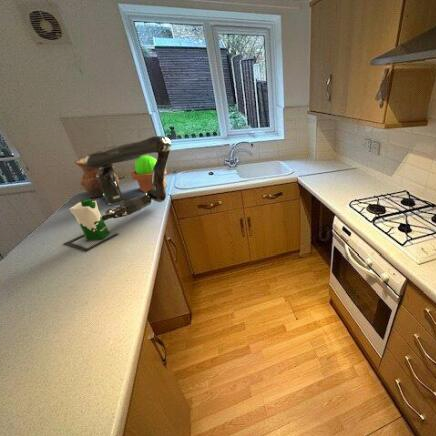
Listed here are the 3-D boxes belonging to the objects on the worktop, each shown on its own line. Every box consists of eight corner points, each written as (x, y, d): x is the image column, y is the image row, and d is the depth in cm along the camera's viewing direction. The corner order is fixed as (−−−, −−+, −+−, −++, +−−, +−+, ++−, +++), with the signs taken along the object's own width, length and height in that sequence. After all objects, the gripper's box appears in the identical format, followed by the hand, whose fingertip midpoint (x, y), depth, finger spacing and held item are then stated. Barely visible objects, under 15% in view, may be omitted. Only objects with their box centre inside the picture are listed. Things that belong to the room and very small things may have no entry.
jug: (87, 200, 162) (70, 164, 150) (85, 192, 176) (69, 158, 164) (125, 192, 175) (111, 158, 163) (119, 184, 189) (107, 153, 177)
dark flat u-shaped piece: (64, 244, 117) (64, 243, 116) (97, 228, 129) (97, 228, 129) (85, 251, 111) (85, 251, 110) (118, 234, 123) (117, 234, 123)
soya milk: (103, 240, 119) (85, 203, 109) (83, 242, 118) (63, 205, 108) (112, 231, 126) (96, 196, 117) (93, 232, 125) (76, 198, 115)
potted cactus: (174, 182, 191) (165, 150, 179) (162, 192, 172) (151, 158, 160) (146, 183, 191) (136, 151, 178) (131, 194, 171) (118, 159, 159)
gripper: (122, 198, 137) (89, 210, 122) (138, 201, 132) (106, 214, 118) (126, 210, 140) (95, 223, 126) (142, 213, 135) (112, 228, 121)
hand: (101, 219), depth 122 cm, fingers closed
